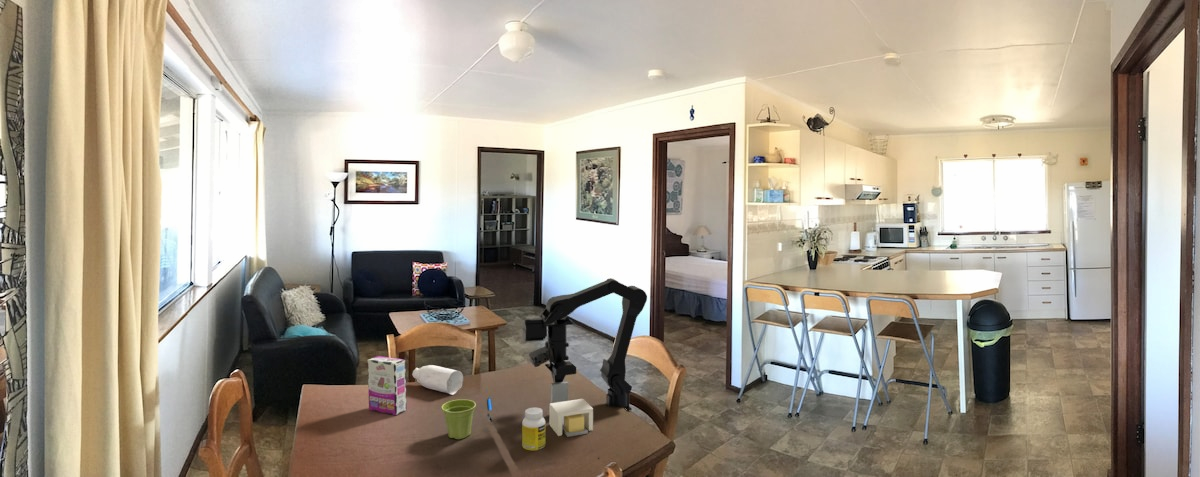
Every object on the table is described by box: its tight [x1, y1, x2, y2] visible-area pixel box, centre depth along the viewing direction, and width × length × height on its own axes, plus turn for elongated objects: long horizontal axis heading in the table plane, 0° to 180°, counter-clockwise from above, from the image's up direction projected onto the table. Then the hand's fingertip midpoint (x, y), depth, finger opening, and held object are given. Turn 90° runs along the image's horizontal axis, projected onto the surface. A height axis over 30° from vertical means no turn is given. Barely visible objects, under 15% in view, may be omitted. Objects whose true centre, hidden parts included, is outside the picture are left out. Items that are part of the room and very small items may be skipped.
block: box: [564, 414, 585, 433], centre depth 161 cm, size 4×4×4 cm
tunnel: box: [548, 398, 594, 437], centre depth 167 cm, size 10×15×8 cm
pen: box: [487, 397, 493, 423], centre depth 180 cm, size 1×19×1 cm, turn 12°
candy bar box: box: [367, 355, 407, 416], centre depth 178 cm, size 11×5×16 cm, turn 68°
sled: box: [550, 380, 589, 437], centre depth 166 cm, size 6×17×10 cm, turn 23°
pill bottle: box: [521, 407, 546, 452], centre depth 152 cm, size 6×6×11 cm
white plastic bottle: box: [411, 364, 464, 395], centre depth 197 cm, size 8×19×8 cm, turn 60°
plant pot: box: [441, 399, 477, 440], centre depth 161 cm, size 9×9×9 cm
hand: (557, 388), depth 175 cm, fingers closed
